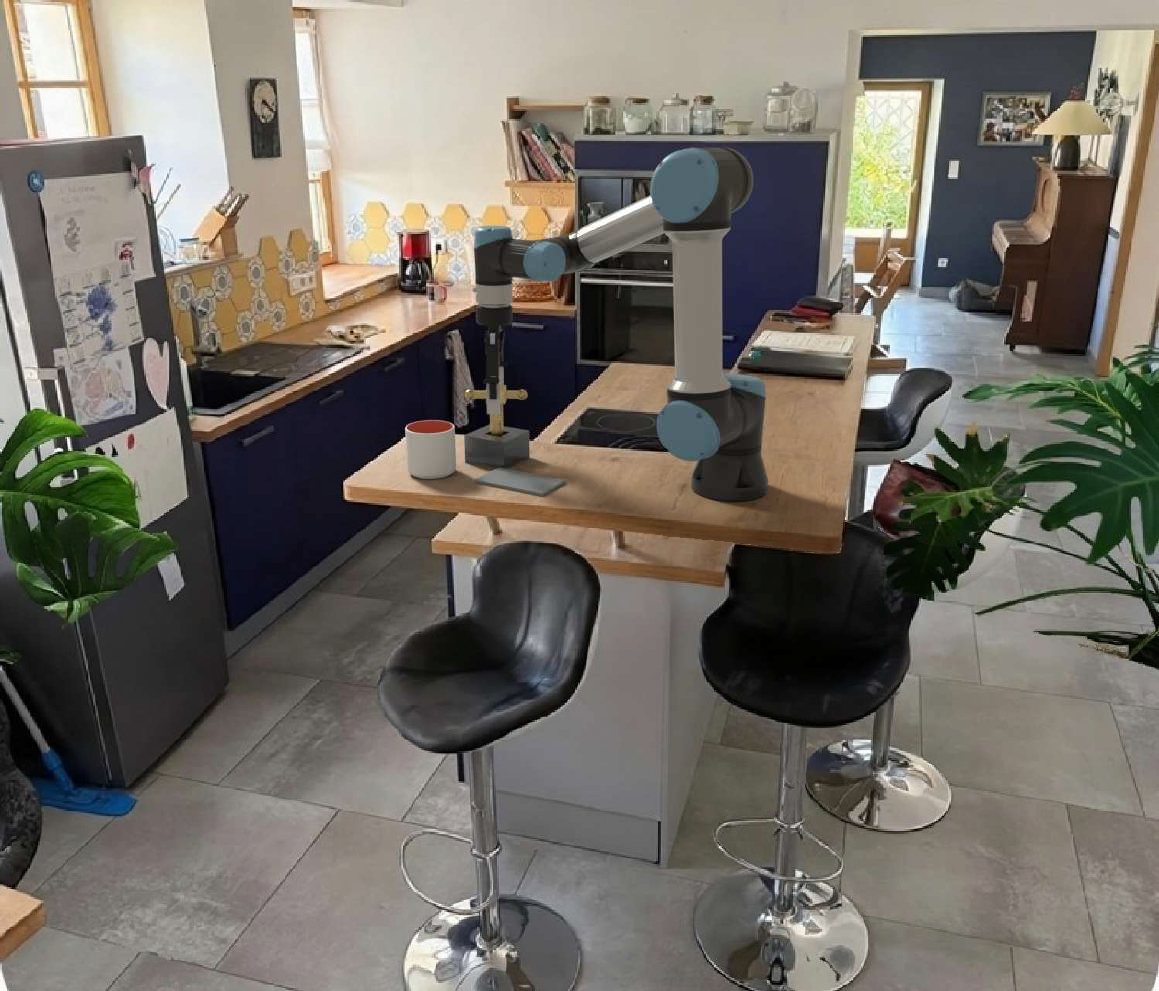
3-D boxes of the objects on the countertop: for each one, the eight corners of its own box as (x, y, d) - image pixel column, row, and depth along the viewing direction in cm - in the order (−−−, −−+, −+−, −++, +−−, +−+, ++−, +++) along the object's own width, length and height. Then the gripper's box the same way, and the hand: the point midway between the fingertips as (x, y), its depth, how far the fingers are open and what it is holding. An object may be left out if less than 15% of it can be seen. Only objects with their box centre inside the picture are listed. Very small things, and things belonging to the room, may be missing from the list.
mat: (565, 482, 206) (565, 480, 206) (542, 496, 199) (542, 493, 199) (499, 469, 214) (499, 467, 213) (474, 482, 206) (474, 479, 206)
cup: (447, 482, 206) (445, 435, 203) (400, 479, 208) (397, 432, 205) (462, 467, 215) (460, 421, 212) (417, 463, 217) (415, 418, 214)
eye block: (529, 457, 222) (529, 430, 220) (504, 470, 214) (503, 442, 212) (491, 450, 226) (490, 424, 224) (465, 462, 218) (464, 435, 216)
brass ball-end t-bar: (528, 456, 222) (527, 385, 216) (527, 462, 218) (527, 390, 213) (467, 456, 222) (465, 385, 216) (466, 462, 218) (463, 389, 212)
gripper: (480, 293, 220) (482, 389, 227) (470, 315, 197) (473, 421, 204) (515, 294, 220) (515, 389, 228) (509, 315, 197) (510, 421, 204)
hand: (495, 404), depth 216 cm, fingers open, 13 cm apart
